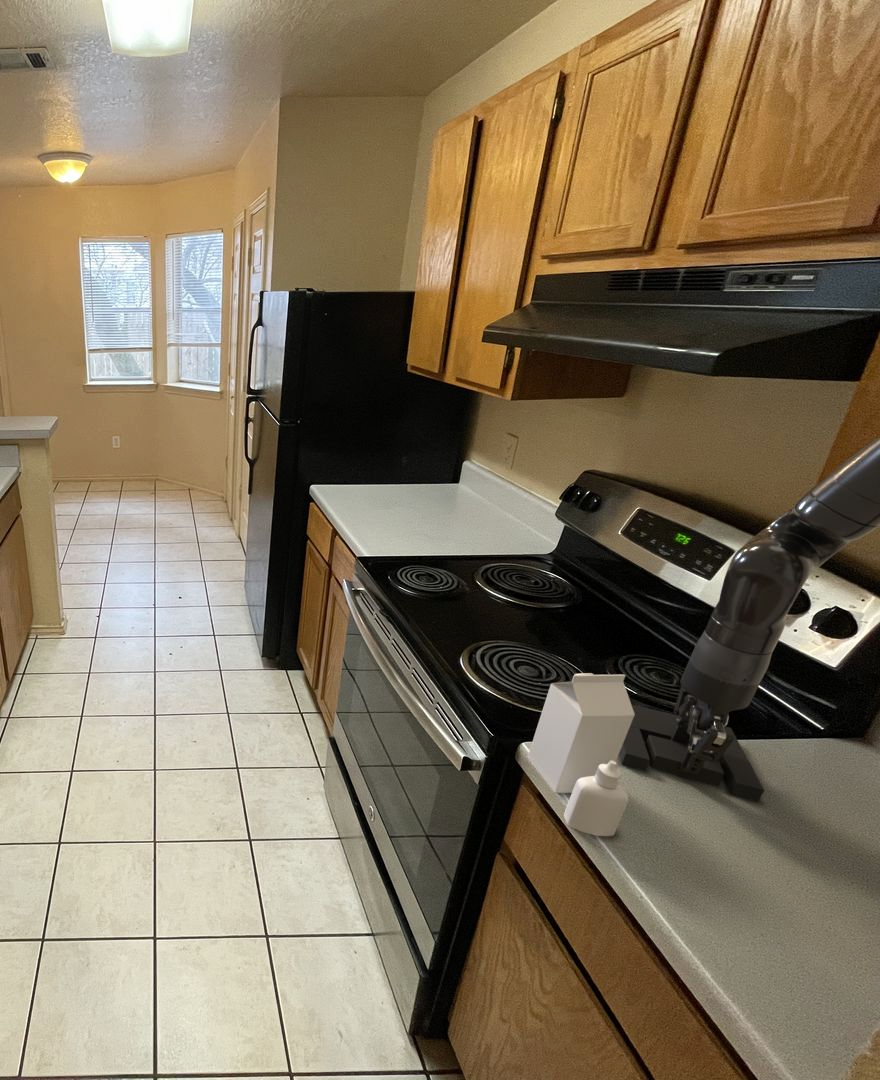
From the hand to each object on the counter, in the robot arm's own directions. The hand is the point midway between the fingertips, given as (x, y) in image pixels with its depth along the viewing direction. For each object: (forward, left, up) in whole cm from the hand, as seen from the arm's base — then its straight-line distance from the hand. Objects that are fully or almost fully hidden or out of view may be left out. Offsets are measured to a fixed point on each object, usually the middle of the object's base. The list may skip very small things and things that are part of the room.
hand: (683, 758), depth 89 cm
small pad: (0, 0, -2) cm, 2 cm away
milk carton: (+16, +10, -2) cm, 19 cm away
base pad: (0, -3, -2) cm, 4 cm away
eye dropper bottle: (+14, +19, -2) cm, 23 cm away
